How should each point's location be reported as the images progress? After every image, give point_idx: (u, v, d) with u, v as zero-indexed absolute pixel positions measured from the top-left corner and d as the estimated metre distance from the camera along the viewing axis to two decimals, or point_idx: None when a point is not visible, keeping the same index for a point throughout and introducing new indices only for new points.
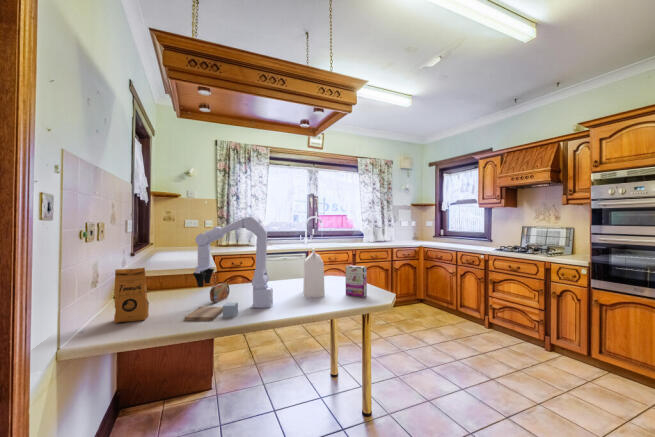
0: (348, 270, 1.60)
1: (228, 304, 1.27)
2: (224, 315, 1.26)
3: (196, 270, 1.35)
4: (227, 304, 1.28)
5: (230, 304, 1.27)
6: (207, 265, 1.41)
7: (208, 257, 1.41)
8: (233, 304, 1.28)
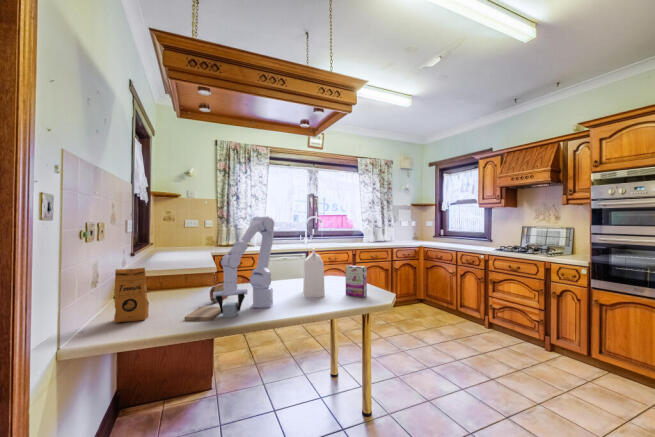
0: (348, 270, 1.60)
1: (228, 304, 1.27)
2: (224, 315, 1.26)
3: None
4: (227, 304, 1.28)
5: (230, 304, 1.27)
6: (227, 291, 1.25)
7: None
8: (233, 304, 1.28)
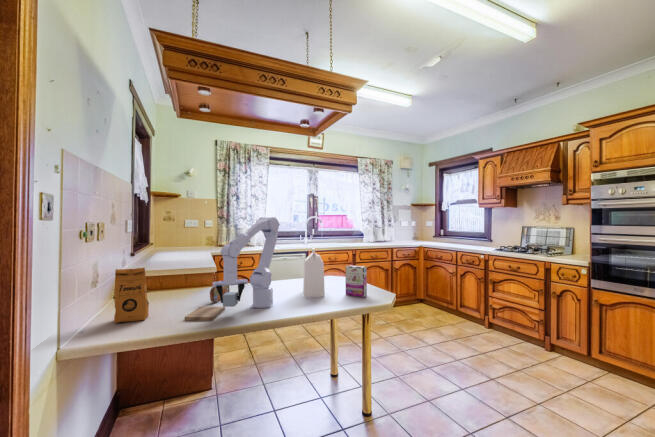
0: (348, 271, 1.60)
1: (229, 294, 1.27)
2: (224, 304, 1.26)
3: None
4: (227, 294, 1.28)
5: (230, 294, 1.27)
6: (227, 280, 1.25)
7: None
8: (233, 294, 1.28)
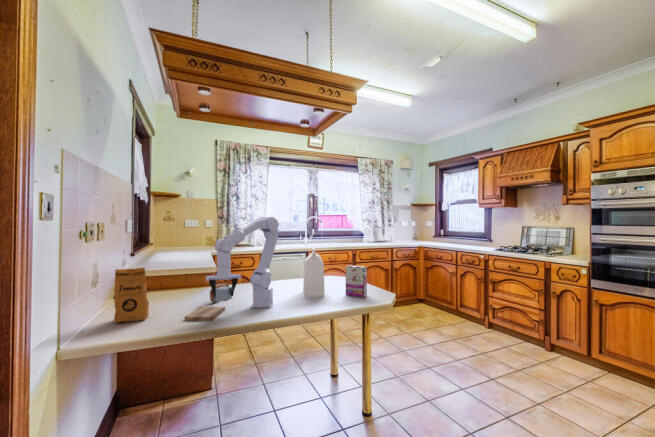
0: (348, 270, 1.60)
1: (222, 288, 1.27)
2: (217, 299, 1.26)
3: (206, 277, 1.26)
4: (220, 288, 1.28)
5: (223, 288, 1.27)
6: (219, 274, 1.25)
7: None
8: (226, 288, 1.27)
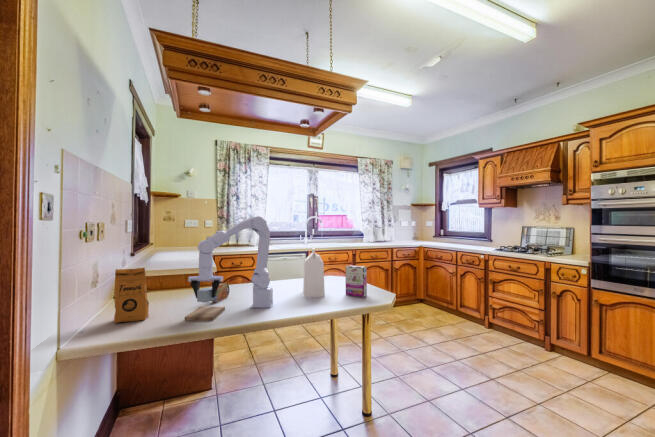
0: (348, 271, 1.60)
1: (203, 289, 1.27)
2: (198, 300, 1.26)
3: None
4: (202, 289, 1.28)
5: (204, 290, 1.27)
6: (200, 276, 1.26)
7: (212, 266, 1.29)
8: (207, 290, 1.27)
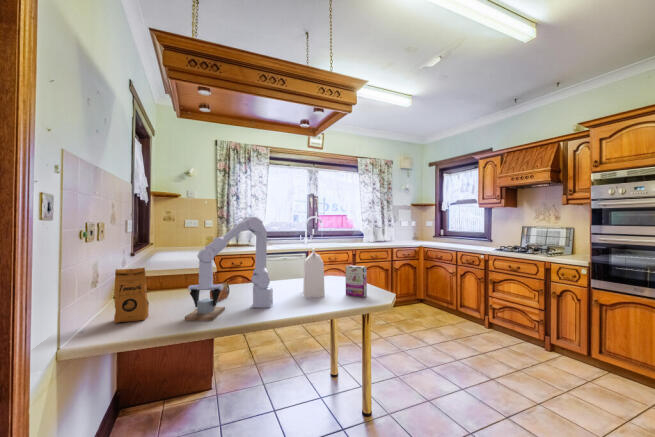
0: (348, 270, 1.60)
1: (203, 300, 1.27)
2: (198, 311, 1.26)
3: None
4: (202, 300, 1.28)
5: (204, 301, 1.27)
6: (200, 285, 1.26)
7: (212, 274, 1.29)
8: (207, 301, 1.27)
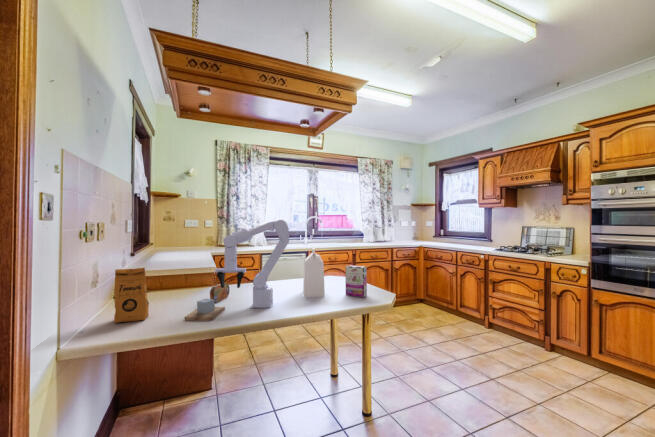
0: (348, 270, 1.60)
1: (203, 300, 1.27)
2: (198, 311, 1.26)
3: None
4: (202, 300, 1.28)
5: (204, 301, 1.27)
6: (225, 267, 1.38)
7: (235, 259, 1.40)
8: (207, 301, 1.27)
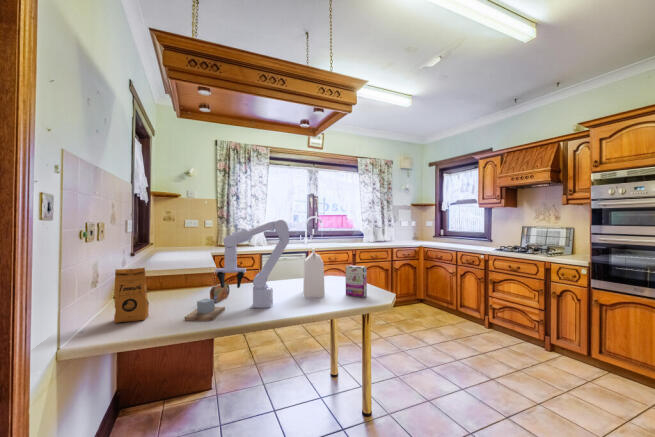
0: (348, 271, 1.60)
1: (203, 300, 1.27)
2: (198, 311, 1.26)
3: None
4: (202, 300, 1.28)
5: (204, 301, 1.27)
6: (225, 267, 1.38)
7: (235, 259, 1.40)
8: (207, 301, 1.27)
